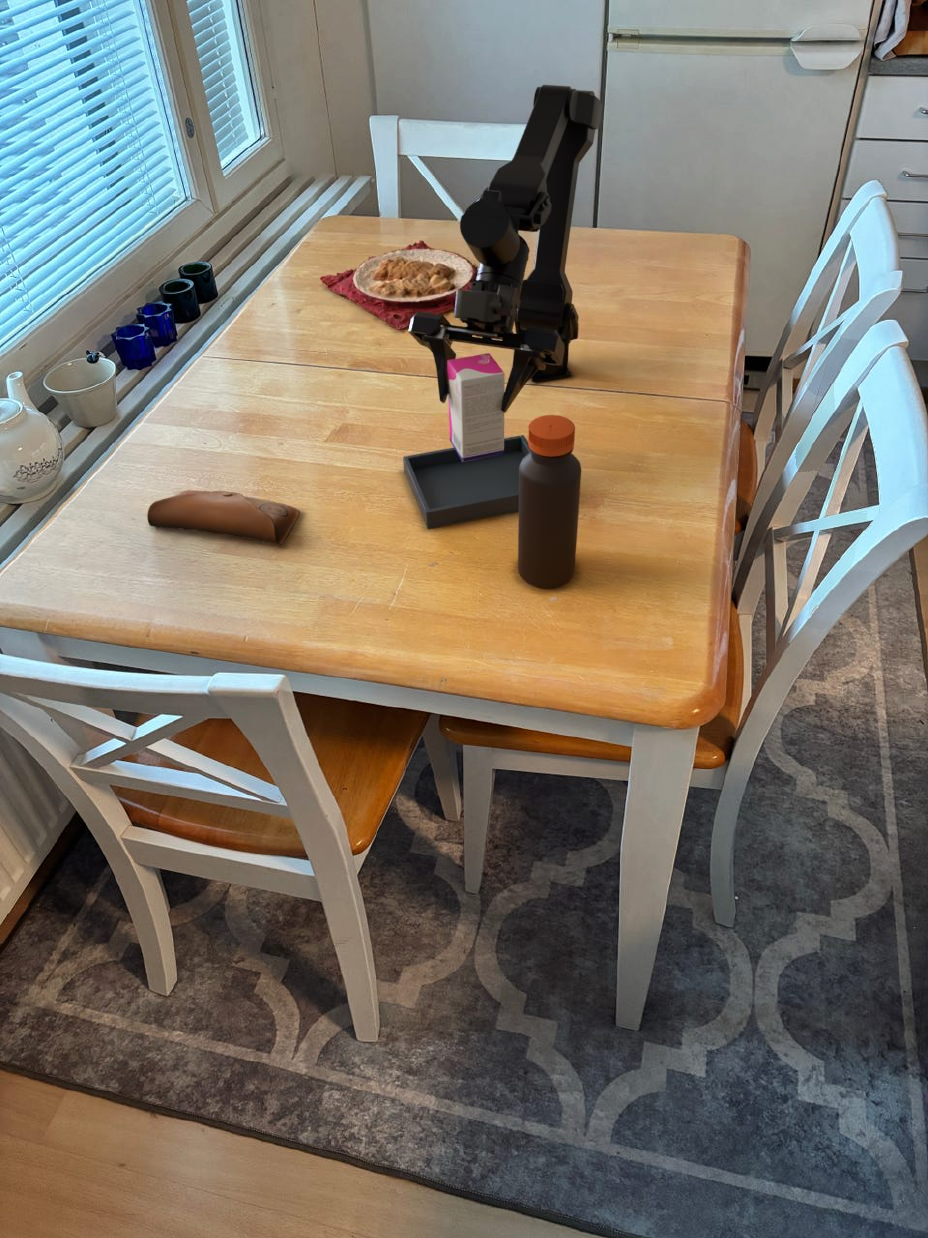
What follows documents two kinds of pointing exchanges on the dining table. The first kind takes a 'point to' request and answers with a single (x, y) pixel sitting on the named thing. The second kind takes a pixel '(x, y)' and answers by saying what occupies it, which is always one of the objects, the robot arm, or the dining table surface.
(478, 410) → the supplement box
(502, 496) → the serving tray
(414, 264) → the plate with food
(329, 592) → the dining table surface
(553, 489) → the bottle
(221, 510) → the sunglasses case
